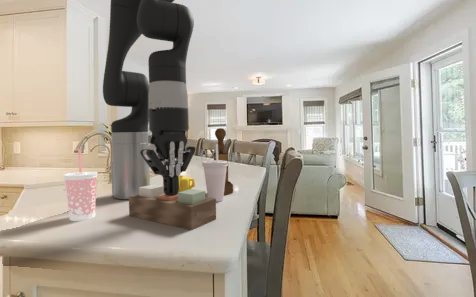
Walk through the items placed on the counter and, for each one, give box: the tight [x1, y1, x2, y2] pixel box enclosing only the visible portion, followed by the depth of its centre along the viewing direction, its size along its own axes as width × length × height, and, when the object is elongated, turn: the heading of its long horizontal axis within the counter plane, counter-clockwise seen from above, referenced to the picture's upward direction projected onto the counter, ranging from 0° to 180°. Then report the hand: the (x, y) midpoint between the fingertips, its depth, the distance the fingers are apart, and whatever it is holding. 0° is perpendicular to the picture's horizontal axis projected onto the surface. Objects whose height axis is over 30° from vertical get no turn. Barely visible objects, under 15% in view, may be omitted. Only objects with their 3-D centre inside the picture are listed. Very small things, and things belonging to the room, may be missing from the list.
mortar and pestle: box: [213, 127, 234, 196], centre depth 79 cm, size 7×6×18 cm
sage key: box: [178, 188, 206, 204], centre depth 54 cm, size 4×4×3 cm
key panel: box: [128, 194, 217, 230], centre depth 57 cm, size 17×7×4 cm, turn 58°
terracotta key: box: [158, 194, 178, 201], centre depth 57 cm, size 4×4×3 cm
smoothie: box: [201, 143, 229, 203], centre depth 71 cm, size 6×6×14 cm
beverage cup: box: [62, 148, 99, 222], centre depth 58 cm, size 6×6×14 cm
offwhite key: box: [139, 184, 165, 198], centre depth 60 cm, size 4×4×3 cm
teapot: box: [178, 174, 196, 192], centre depth 79 cm, size 8×6×5 cm
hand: (171, 194), depth 57 cm, fingers closed
